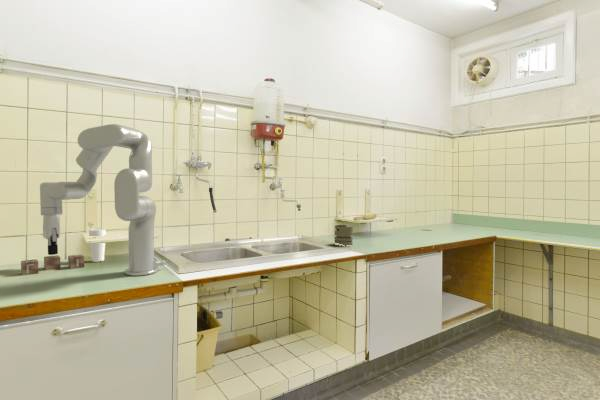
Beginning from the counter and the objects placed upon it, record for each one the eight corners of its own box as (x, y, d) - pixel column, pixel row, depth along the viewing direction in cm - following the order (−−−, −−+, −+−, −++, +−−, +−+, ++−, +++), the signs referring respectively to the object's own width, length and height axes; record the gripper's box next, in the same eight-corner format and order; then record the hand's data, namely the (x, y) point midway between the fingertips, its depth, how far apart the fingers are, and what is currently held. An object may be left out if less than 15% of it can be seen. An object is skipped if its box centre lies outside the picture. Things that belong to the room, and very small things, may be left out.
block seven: (36, 271, 143) (36, 259, 142) (38, 273, 139) (38, 261, 139) (21, 273, 139) (20, 260, 139) (22, 275, 136) (22, 262, 135)
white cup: (86, 262, 159) (85, 230, 158) (94, 259, 165) (94, 228, 165) (101, 262, 159) (101, 230, 158) (109, 259, 166) (108, 228, 165)
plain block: (58, 266, 151) (58, 255, 151) (60, 268, 147) (60, 257, 147) (44, 268, 148) (44, 256, 147) (46, 270, 144) (45, 258, 144)
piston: (343, 227, 208) (330, 225, 217) (342, 247, 209) (330, 244, 218) (356, 226, 215) (344, 224, 224) (356, 245, 215) (343, 242, 224)
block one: (81, 265, 154) (81, 254, 153) (84, 267, 150) (84, 255, 150) (68, 267, 150) (68, 255, 150) (70, 269, 147) (70, 257, 146)
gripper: (38, 210, 149) (39, 253, 150) (43, 212, 138) (44, 258, 139) (59, 210, 154) (60, 250, 155) (65, 211, 144) (66, 255, 144)
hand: (52, 254), depth 147 cm, fingers closed
